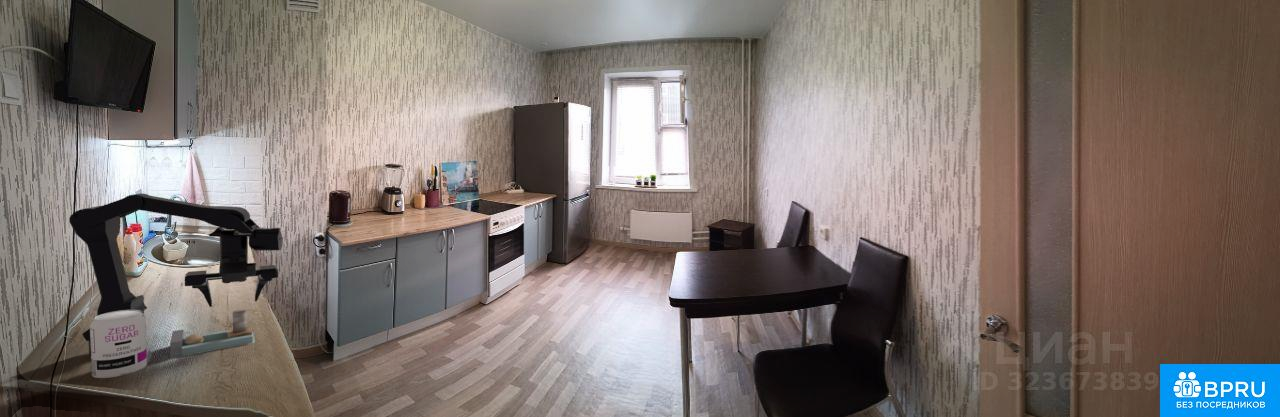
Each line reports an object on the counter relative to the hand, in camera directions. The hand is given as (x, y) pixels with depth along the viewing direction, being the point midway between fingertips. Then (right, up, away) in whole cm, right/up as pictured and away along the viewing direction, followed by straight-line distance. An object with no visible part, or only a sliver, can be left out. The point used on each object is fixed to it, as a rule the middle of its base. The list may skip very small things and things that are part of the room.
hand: (233, 303), depth 117 cm
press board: (-3, -12, -3) cm, 12 cm away
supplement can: (-9, -13, -18) cm, 24 cm away
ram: (+1, -10, +1) cm, 11 cm away
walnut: (-5, -11, -6) cm, 13 cm away
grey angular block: (-8, -11, -8) cm, 15 cm away
